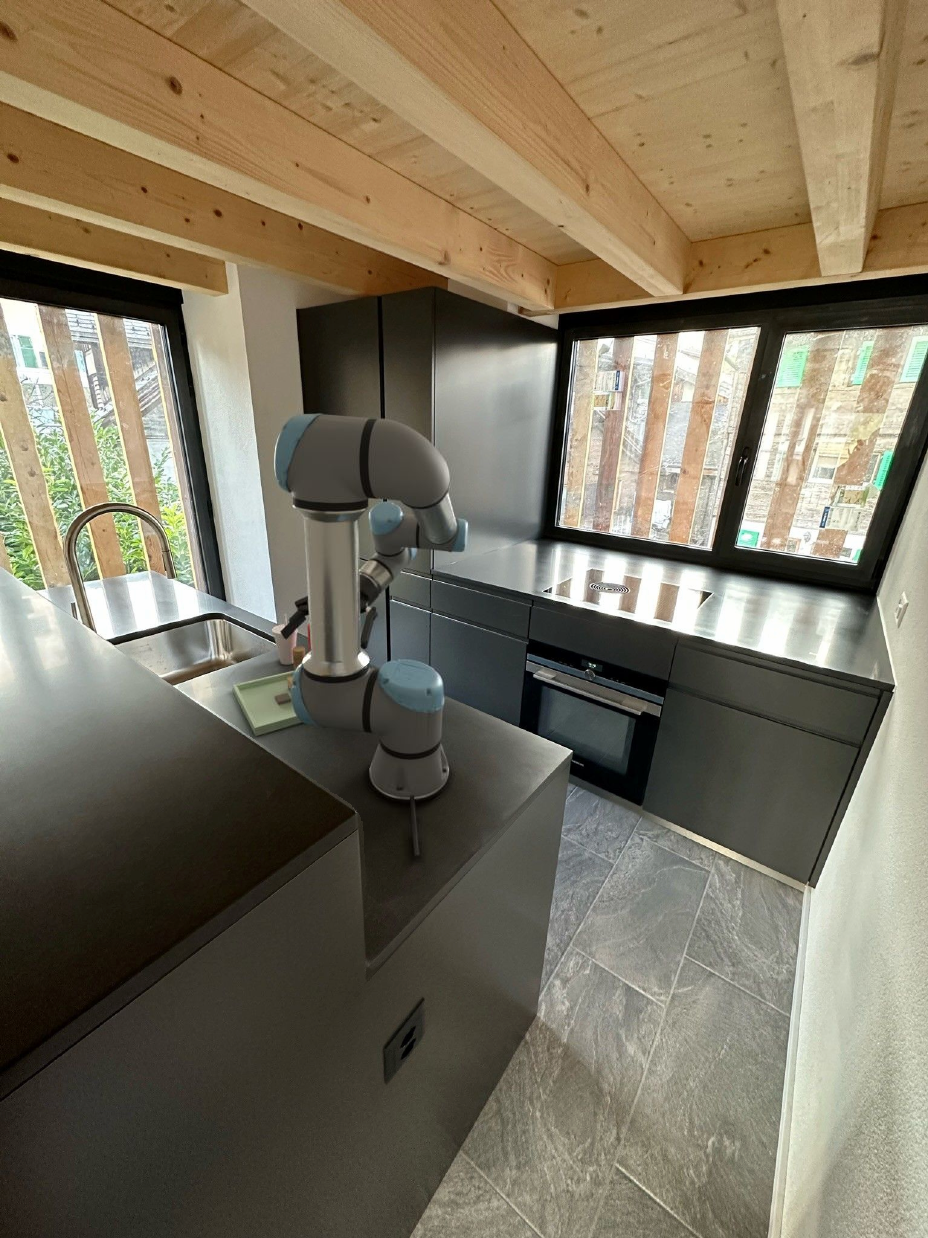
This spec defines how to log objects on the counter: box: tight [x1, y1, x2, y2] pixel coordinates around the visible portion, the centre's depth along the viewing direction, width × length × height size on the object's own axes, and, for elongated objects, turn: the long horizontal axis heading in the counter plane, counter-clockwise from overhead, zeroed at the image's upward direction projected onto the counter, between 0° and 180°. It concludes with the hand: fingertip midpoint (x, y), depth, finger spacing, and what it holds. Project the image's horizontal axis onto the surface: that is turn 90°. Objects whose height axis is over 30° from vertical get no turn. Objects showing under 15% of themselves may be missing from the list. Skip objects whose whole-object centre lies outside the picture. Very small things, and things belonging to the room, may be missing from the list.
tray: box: [232, 670, 303, 737], centre depth 120 cm, size 20×17×2 cm
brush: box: [287, 645, 307, 692], centre depth 120 cm, size 9×4×12 cm, turn 35°
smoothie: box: [271, 613, 299, 666], centre depth 135 cm, size 6×6×14 cm
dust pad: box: [275, 693, 291, 705], centre depth 120 cm, size 3×3×1 cm
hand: (306, 650), depth 111 cm, fingers open, 13 cm apart
